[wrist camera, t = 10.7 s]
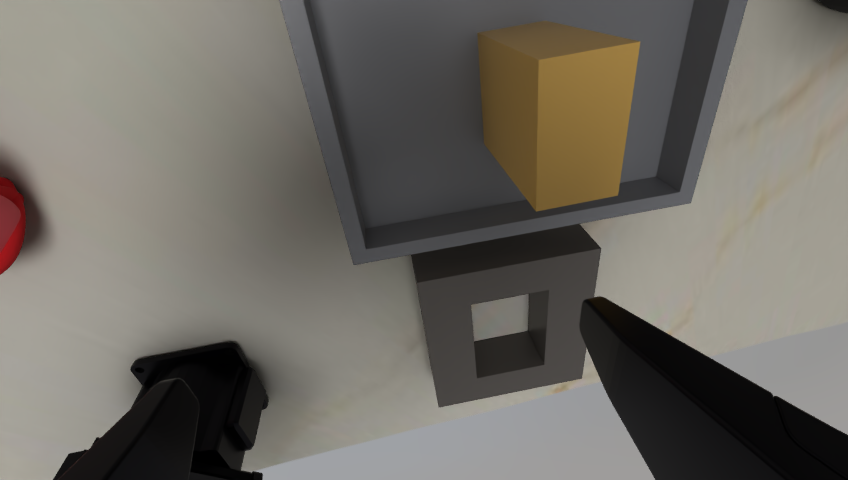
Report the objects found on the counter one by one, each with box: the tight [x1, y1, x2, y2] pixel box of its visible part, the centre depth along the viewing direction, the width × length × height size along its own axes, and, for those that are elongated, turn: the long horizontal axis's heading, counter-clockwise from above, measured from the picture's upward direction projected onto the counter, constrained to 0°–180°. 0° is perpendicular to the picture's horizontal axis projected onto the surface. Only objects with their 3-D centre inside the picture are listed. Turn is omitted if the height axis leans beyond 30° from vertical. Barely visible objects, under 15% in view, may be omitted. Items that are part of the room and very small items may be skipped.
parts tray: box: [279, 0, 748, 265], centre depth 18 cm, size 18×14×2 cm
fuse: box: [477, 21, 640, 212], centre depth 16 cm, size 3×5×7 cm, turn 9°
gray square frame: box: [411, 224, 601, 407], centre depth 25 cm, size 10×11×3 cm
